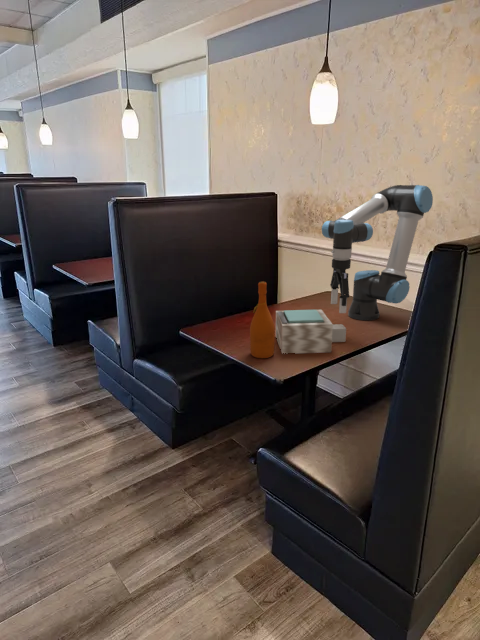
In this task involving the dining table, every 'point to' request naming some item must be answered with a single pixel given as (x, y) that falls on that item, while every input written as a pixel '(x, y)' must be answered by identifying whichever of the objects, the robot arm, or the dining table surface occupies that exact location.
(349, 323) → the dining table surface
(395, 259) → the robot arm
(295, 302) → the dining table surface
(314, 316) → the trapdoor
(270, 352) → the wine bottle
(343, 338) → the light grey cube
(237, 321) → the dining table surface
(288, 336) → the crate
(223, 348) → the dining table surface
